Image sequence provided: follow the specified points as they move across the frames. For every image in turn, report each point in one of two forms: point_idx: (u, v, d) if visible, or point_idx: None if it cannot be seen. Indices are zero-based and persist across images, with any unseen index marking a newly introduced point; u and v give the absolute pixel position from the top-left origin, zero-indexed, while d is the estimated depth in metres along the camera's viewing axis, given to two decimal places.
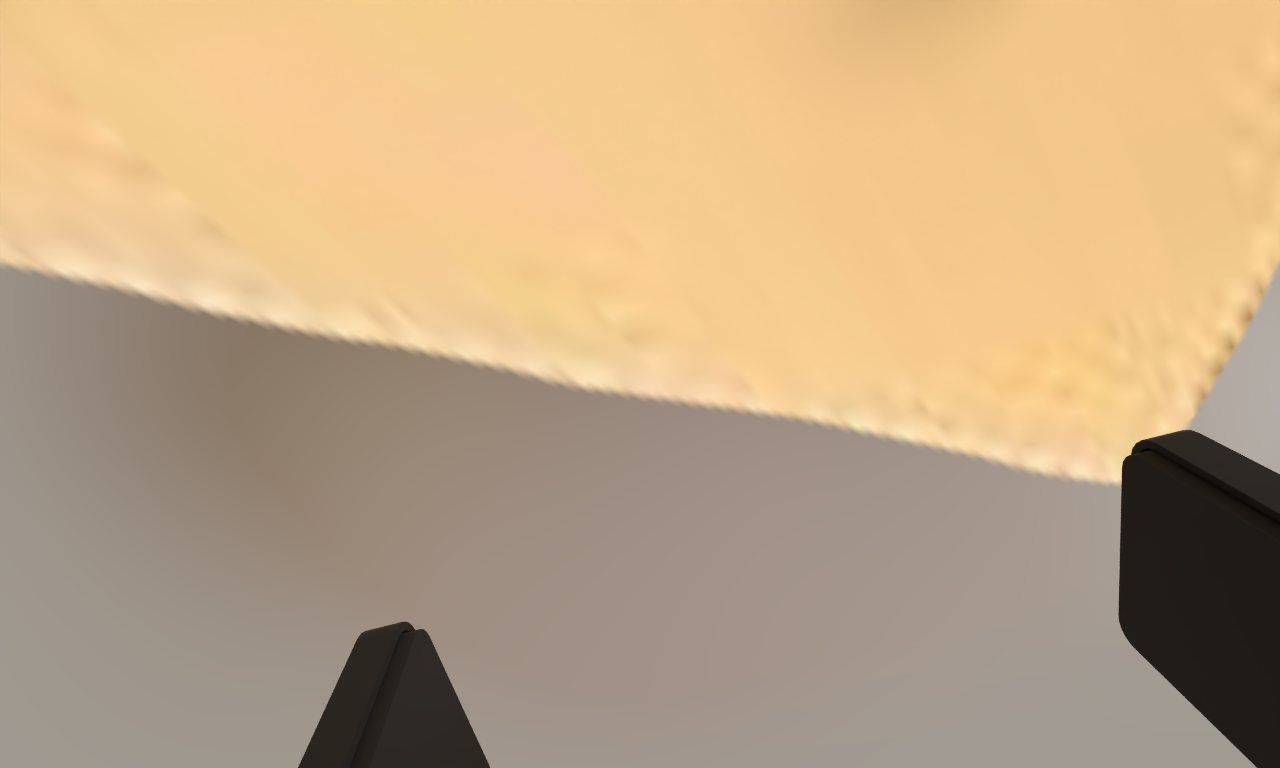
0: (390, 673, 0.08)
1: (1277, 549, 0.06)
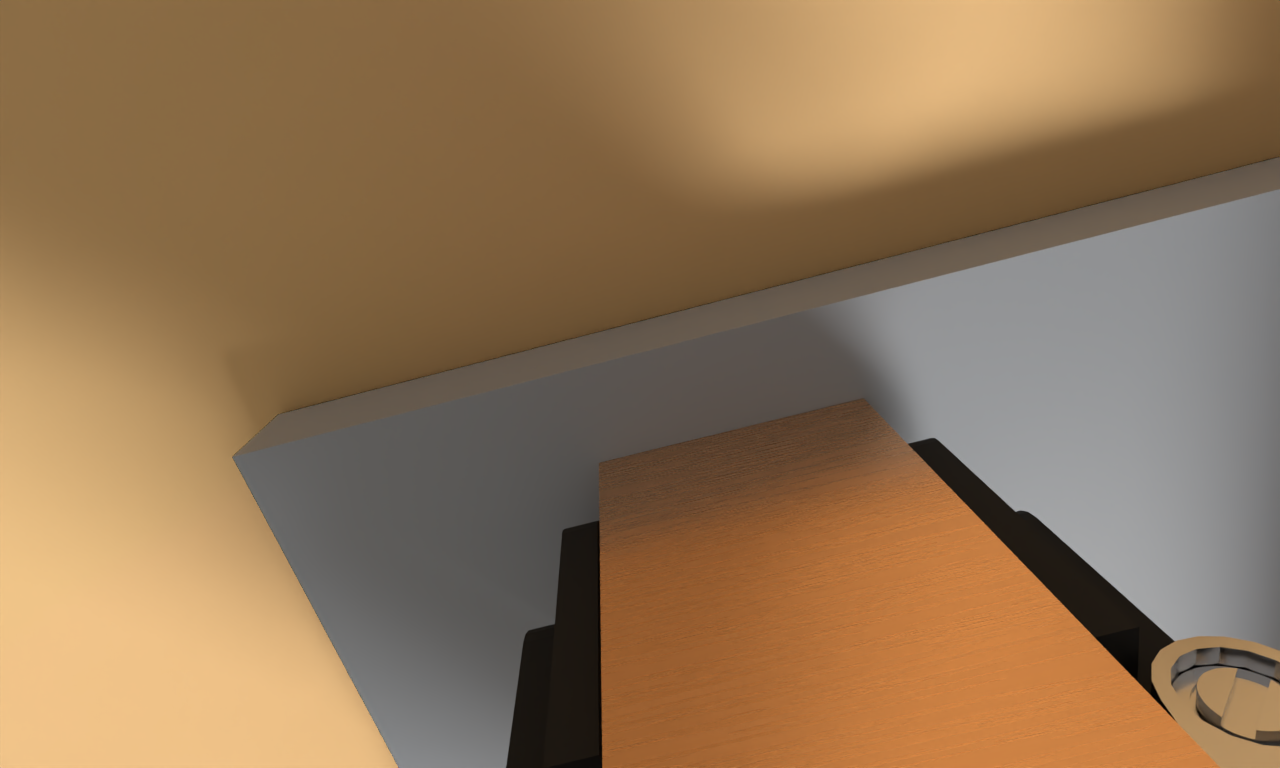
0: None
1: None
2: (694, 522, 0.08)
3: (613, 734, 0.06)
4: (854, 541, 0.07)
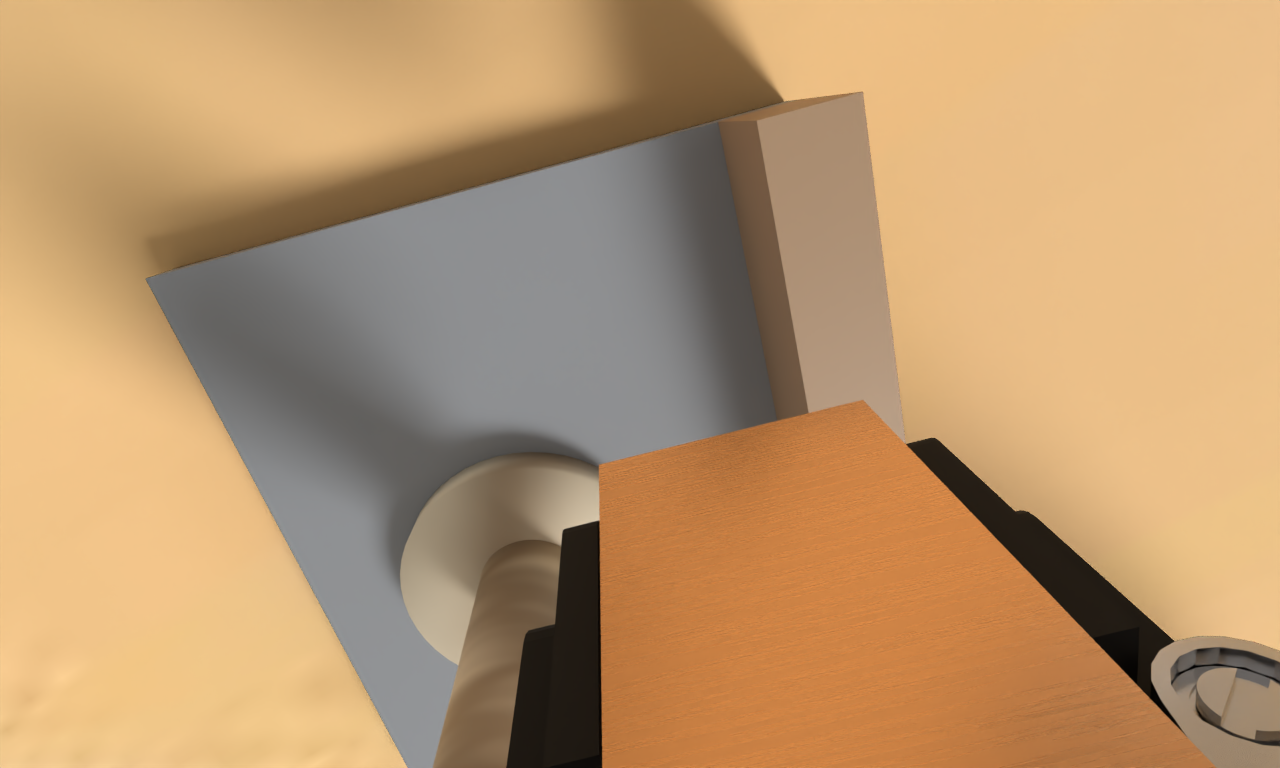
0: None
1: None
2: (695, 524, 0.08)
3: (613, 736, 0.06)
4: (855, 542, 0.07)
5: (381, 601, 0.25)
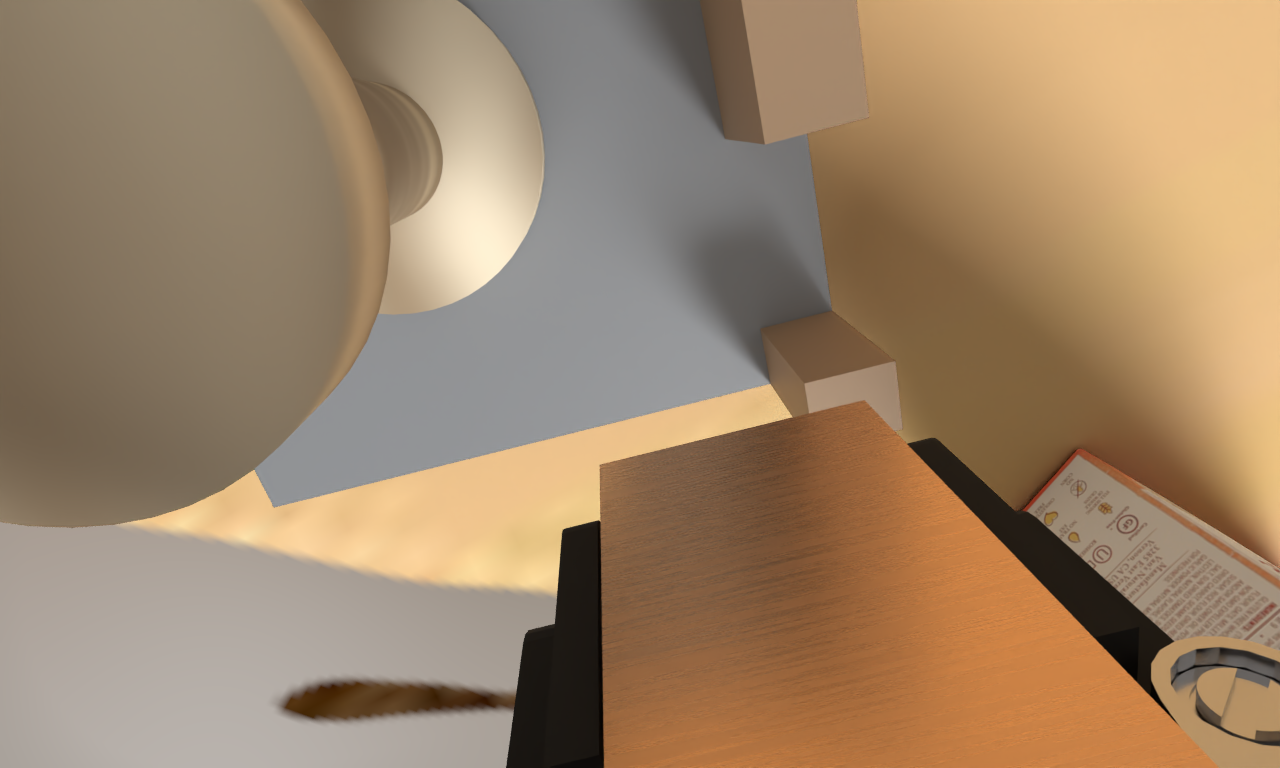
0: None
1: None
2: (696, 525, 0.08)
3: (615, 737, 0.06)
4: (856, 543, 0.07)
5: None
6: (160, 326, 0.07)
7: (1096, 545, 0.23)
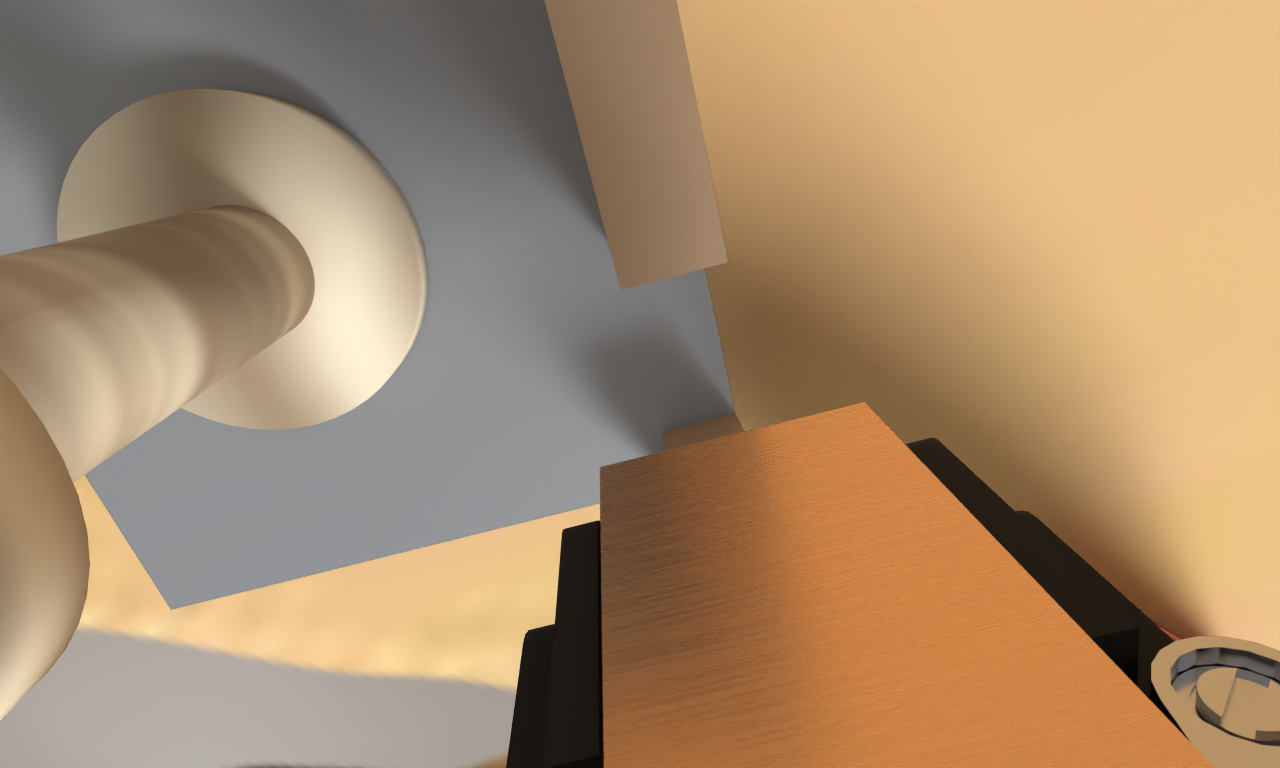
0: None
1: None
2: (696, 528, 0.08)
3: (614, 742, 0.06)
4: (856, 546, 0.07)
5: None
6: None
7: None
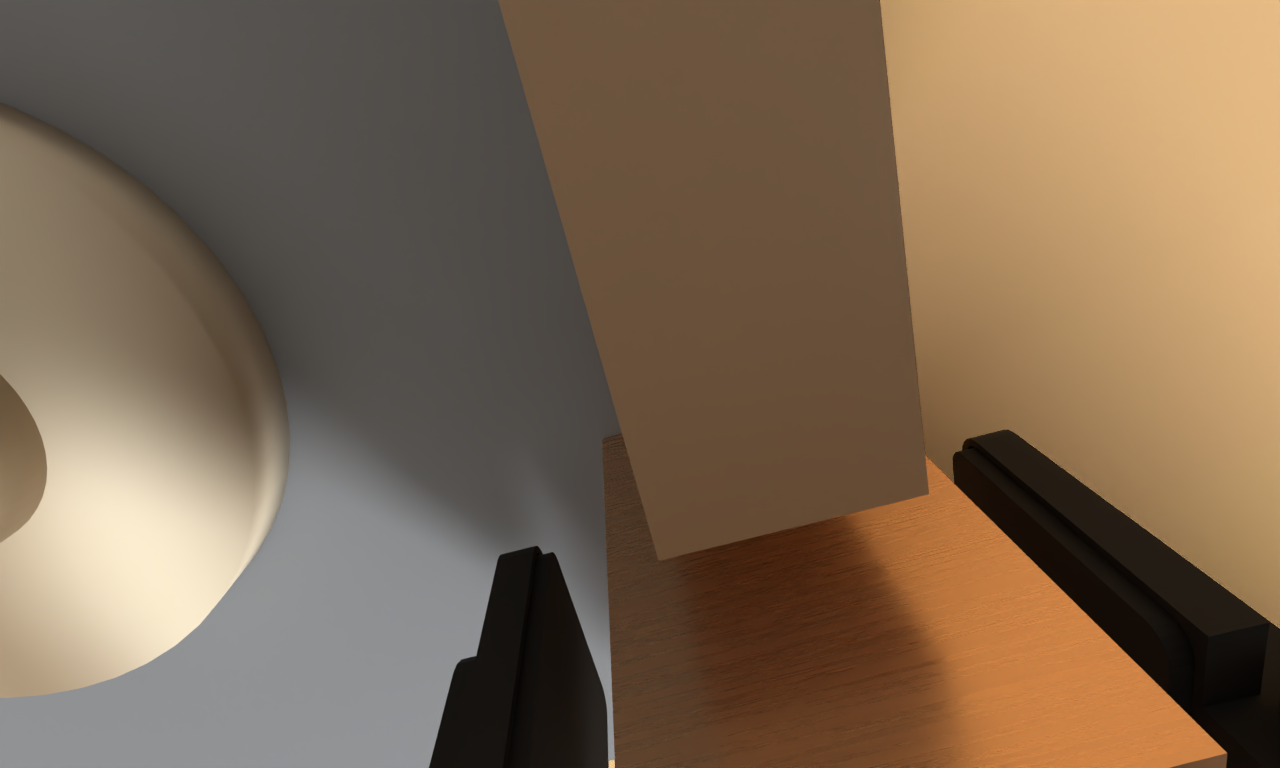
0: (536, 585, 0.09)
1: (1044, 533, 0.07)
2: None
3: (620, 653, 0.06)
4: None
5: None
6: None
7: None
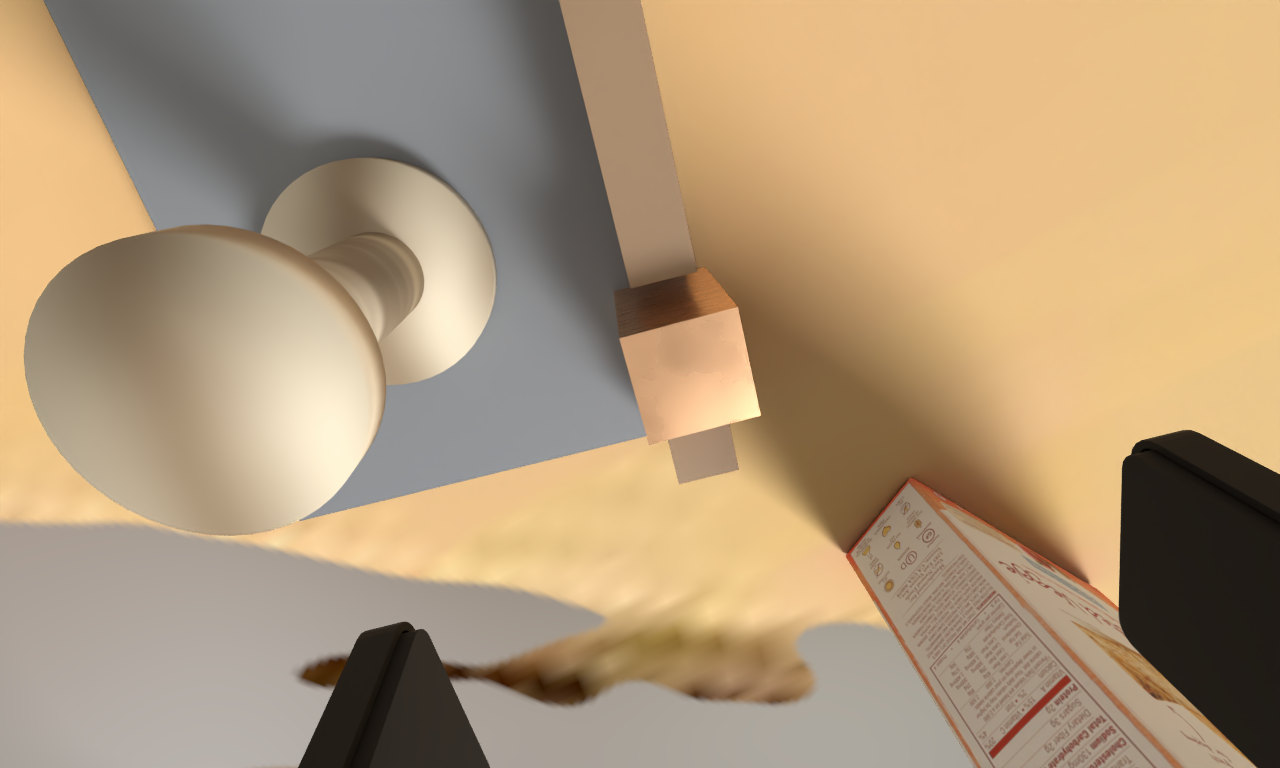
0: (390, 673, 0.08)
1: (1277, 549, 0.06)
2: (643, 295, 0.27)
3: (619, 320, 0.24)
4: (685, 290, 0.26)
5: None
6: (280, 443, 0.15)
7: (909, 551, 0.32)
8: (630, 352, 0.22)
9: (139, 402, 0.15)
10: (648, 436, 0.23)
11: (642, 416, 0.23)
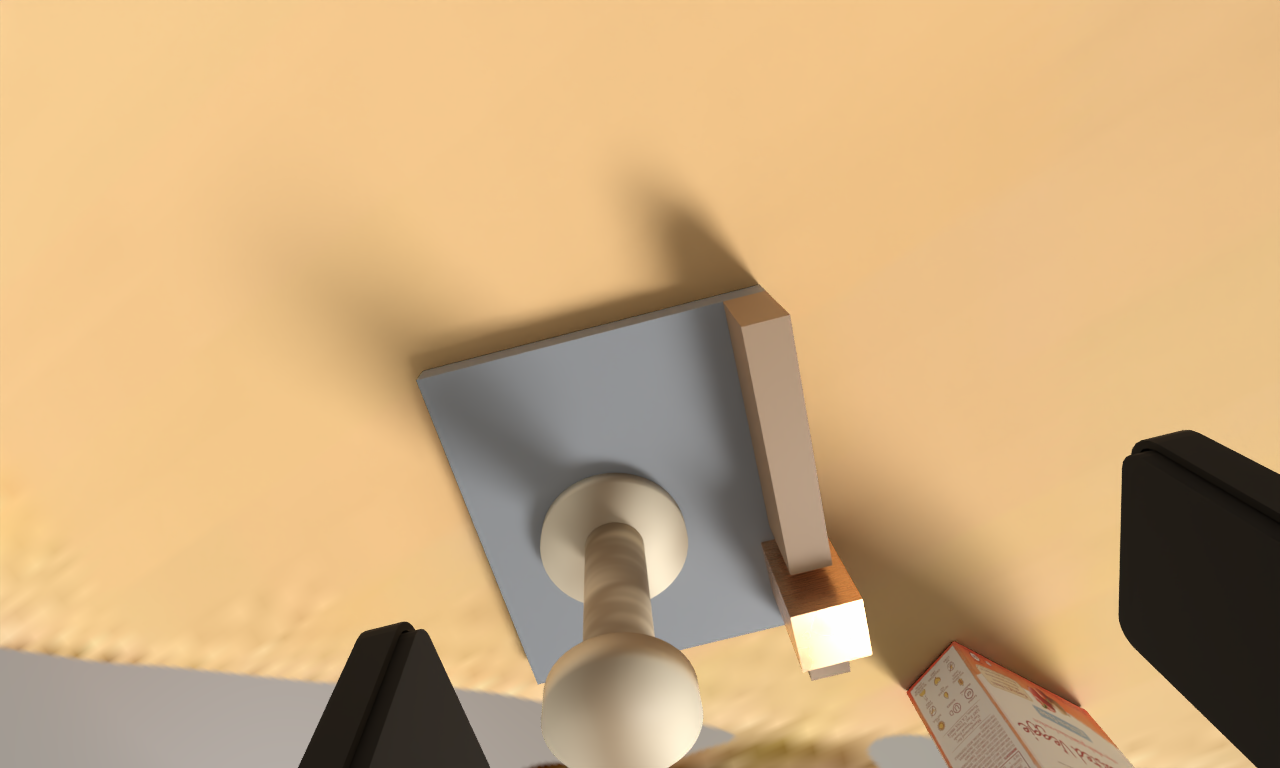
0: (390, 673, 0.08)
1: (1277, 549, 0.06)
2: None
3: (781, 590, 0.39)
4: None
5: (523, 558, 0.42)
6: (656, 739, 0.30)
7: (955, 702, 0.46)
8: (796, 624, 0.37)
9: (592, 724, 0.29)
10: (802, 667, 0.38)
11: (800, 657, 0.38)
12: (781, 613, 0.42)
